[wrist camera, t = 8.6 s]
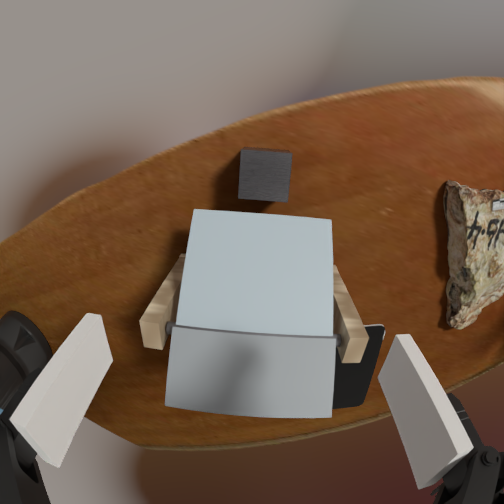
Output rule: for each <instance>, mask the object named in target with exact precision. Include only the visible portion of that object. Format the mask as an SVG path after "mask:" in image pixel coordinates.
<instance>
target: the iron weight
mask: <svg viewBox="0 0 504 504" xmlns="http://www.w3.org/2000/svg"><path fill="white" fill-rule="evenodd" d="M291 163H292V153H291V152H290V151H289V150H279V149H267V148H254V147H244V148H242V149H241V158H240V175H239V192H238V199H252V200H265V201H277V202H288V194H289V184H290V173H291Z"/></svg>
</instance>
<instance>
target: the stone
mask: <svg viewBox="0 0 504 504" xmlns="http://www.w3.org/2000/svg"><path fill="white" fill-rule="evenodd" d="M443 200H444V201H443V203H444V212H445V218H446V222H447V227H448V242H447V248H448V265H449V267H450V270H449V272H450V276H451V277H450V279H449V280H448V282H447V286H446V294H447V313H446V318H447V319H446V321H447V324H448V325H449V326H450V327H455V329H463V328H465V327H467V326H468V325H470V324H472V323H473V322H475V320H476V319H477V315H478V314H480V313H481V309H482V308H484V307H485V306H487V305H489V304H491V303H492V302H494V301H496V300H498V299H499V298H500V297H501V296H502V295H503V294H504V191H503V192H502V191H499V190H497V189H496V190H487V189H482V190H480V191H479V190H478V189H470V188H469V187H468V186H466V185H459V183H458V182H455V181H450V180H448V182H447V183H446V186H445V190H444V198H443ZM460 279H461V280H460Z"/></svg>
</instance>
